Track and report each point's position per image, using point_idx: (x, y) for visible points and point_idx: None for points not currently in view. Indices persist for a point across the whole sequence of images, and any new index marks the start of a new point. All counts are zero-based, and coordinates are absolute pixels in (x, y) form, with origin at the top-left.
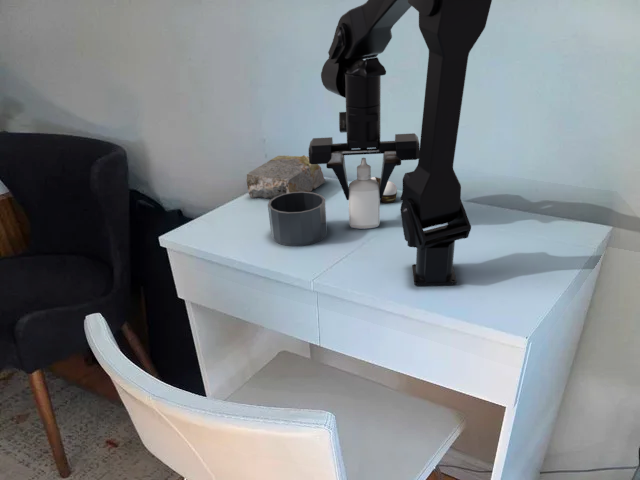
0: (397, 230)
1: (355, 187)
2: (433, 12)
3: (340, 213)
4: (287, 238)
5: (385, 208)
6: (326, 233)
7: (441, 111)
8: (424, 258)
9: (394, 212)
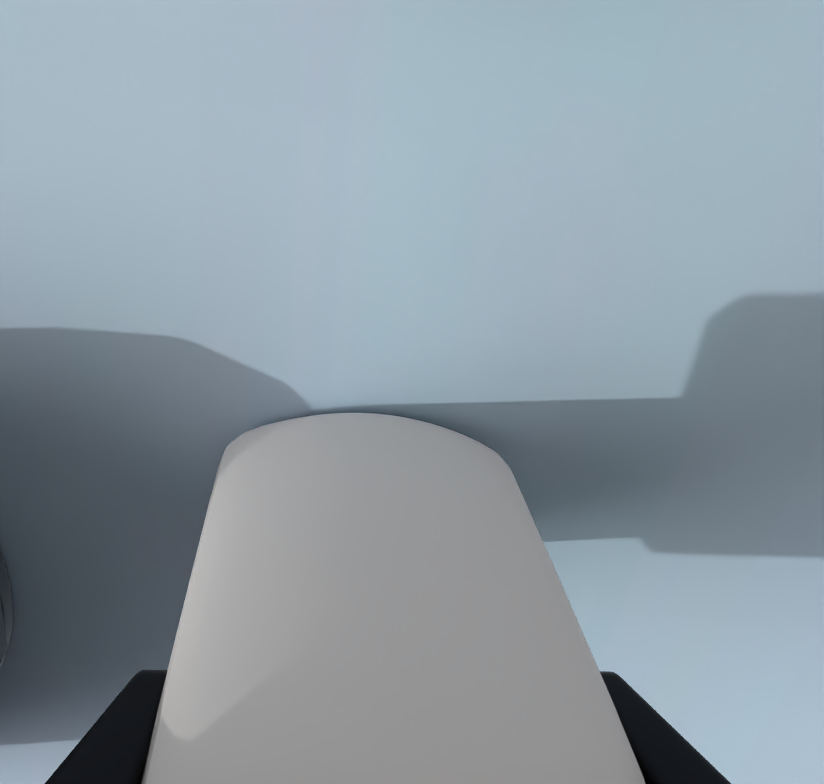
0: (611, 588)
1: None
2: None
3: (97, 112)
4: None
5: (670, 73)
6: (9, 621)
7: None
8: None
9: (721, 220)
